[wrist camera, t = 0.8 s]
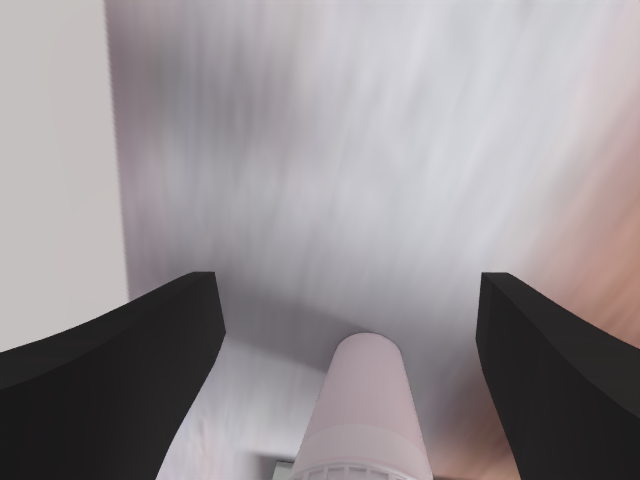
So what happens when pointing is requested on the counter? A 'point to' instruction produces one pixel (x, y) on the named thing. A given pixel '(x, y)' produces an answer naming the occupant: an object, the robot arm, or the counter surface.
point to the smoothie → (363, 418)
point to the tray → (282, 470)
